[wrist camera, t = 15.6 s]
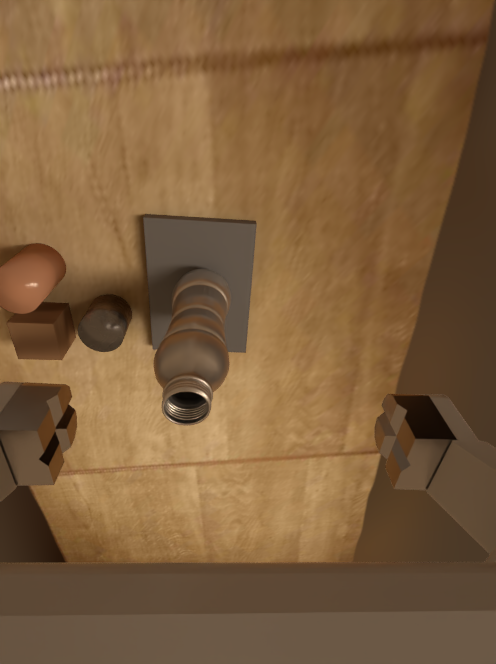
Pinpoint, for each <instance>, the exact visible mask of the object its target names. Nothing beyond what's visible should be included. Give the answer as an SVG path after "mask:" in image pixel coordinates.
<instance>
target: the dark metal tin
mask: <svg viewBox="0 0 496 664" xmlns="http://www.w3.org/2000/svg"><path fill="white" fill-rule="evenodd" d="M131 319H132V310H131V308H130V306H129V304H128V303H127V302H126V301H125V300H124V299H122V298H120V297H118V296H116V295H111V294H106V295H101V296H99V297H97V298H96V299H95V300H94V301H93V303H92V304H91V306H90V307H89V309H88V311H87V312H86V314H85V316H84V317H83V319H82V320H81V322H80V324H79V326H78V335H79V337H80V339H81V341H82V342H83V343H84V344H85V345H86V346H87V347H89V348H91V349H93V350H96V351H100V352H109V351H112V350H115V349H117V348H118V347H119V346H120V345H121V343H122V341H123V339H124V336H125V334H126V331H127V329H128V326H129V324H130V322H131Z"/></svg>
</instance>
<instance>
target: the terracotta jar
mask: <svg viewBox="0 0 496 664" xmlns="http://www.w3.org/2000/svg"><path fill="white" fill-rule="evenodd" d="M65 273H66V265H65V261H64V259H63V258H62V256H61V255H60V254H59V253H58V252H57V251H56V250H55V249H53V248H52V247H50V246H48V245H45V244H38V243H36V244H31V245H28V246H27V247H25V248H24V249H23V250H21V251H20V252H19V253H18V254H16V255H15V256H14V257H13V258H11V259H10V260H9V261H8V262H6V263H5V264H4V265H2V266H1V267H0V306H1V307H2V308H4V309H5V310H8V311H10V312H13V313H18V314H25V313H30V312H32V311H34V310H35V309H36V308H37V307H38V306H39V305H40V304H41V303H42V302H43V300H44V299H45V298H46V297H47V296H48V295H49V294H50V292H51V291H52V290H53V289H54V288H55V287H56V286H57V284H58V283H59V282H60V281H61V280H62V279H63V277H64V276H65Z"/></svg>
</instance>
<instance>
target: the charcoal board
mask: <svg viewBox="0 0 496 664" xmlns="http://www.w3.org/2000/svg"><path fill="white" fill-rule="evenodd" d="M143 220H144V234H145V248H146V262H147V275H148V289H149V303H150V317H151V331H152V345H153V349H158V347H159V345H160V344H161V342H162V340H163V338H164V336H165V335H166V333H167V330H168V328H169V325H170V322H171V319H172V293H173V289H174V287H175V285H176V284H177V283H178V281H179V280H180V279H181V277H182V276H184V275H185V274H186V273H188V272H190V271H193V270H196V269H208V270H212V271H215V272H217V273H218V274H220V275H221V276H222V277H223V278H224V279H225V280H226V282H227V284H228V287H229V289H230V292H231V304H230V307H229V310H228V313H227V315H226V319H225V324H224V331H225V340H226V345H227V350H228V352H244V353H246V342H247V330H248V318H249V306H250V295H251V283H252V271H253V259H254V247H255V236H256V221H248V220H232V219H216V218H199V217H183V216H167V215H151V214H145V216H144V217H143Z"/></svg>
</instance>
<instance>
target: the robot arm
mask: <svg viewBox="0 0 496 664" xmlns="http://www.w3.org/2000/svg"><path fill="white" fill-rule="evenodd" d="M71 398H72V394H71V390H70V387H69V386H68V385H66V384H47V383H28V382H25V383H20V382H3V383H1V384H0V502H1V501H2V500H3V499H4V498H5V497H6V496H8V495H9V494H10V493H11V492H12V491H13V490H14V489H16V485H54V484H55V482H56V479H57V477H58V475H59V473H60V470H61V468H62V466H63V464H64V458H63V454H62V453H63V452H65V451H66V450H68V449H69V448H70V447H71V446H72V443H73V441H74V438H75V434H76V429H77V416H76V411H75V409H74V408H72V407H71V406H70V405H69V402H70V400H71ZM382 407H383V409H384V411H385V412H384V413H383V414H381V415H380V416H379V417H377V421H376V424H375V442H376V446H377V448H378V451H379V453H380V454H381V455H383V456H384V457H385V458H386V459H387V462H386V465H385V468H386V471H387V473H388V476H389V478H390V480H391V483H392V485H393V488H394V489H408V490H427V493H428V494H429V495H430V496H431V497H432V498H433V499H434V500H435V501H436V502H437V503H438V504H439V505H440V506H441V507H443V509H444V510H446V512H447V513H448V514H449V515H451V517H452V518H453V519H454V520H455V521H457V523H458V524H460V525H461V526H462V527H463V528H464V529H465V530H466V531H467V532H468V533H469V534H470V535H471V536H472V537H473V538H474V539H475V540H476V541H477V542H478V543H479V544H480V545H481V546H482V547H483V548H484V549H485V550H486V551H487V552H488V553H489V554H490V555H489V556H488V558H487V559H486V560H485V562H288V563H0V664H496V448H495V447H493V446H492V445H490V444H488V443H487V442H485V441H479V440H478V439H477V437H476V436H475V435H474V433H473V432H472V430H471V429H470V428H469V426H468V425H467V423H466V422H465V420H464V419H463V418H462V416H461V415H460V413H459V412H458V410H457V409H456V407H455V406H454V405H453V403H452V402H451V400H450V399H449V398H448V397H447V396H445V395H435V394H433V395H432V394H425V395H413V394H387V395H386V397H385V398H384V400H383V403H382Z"/></svg>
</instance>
